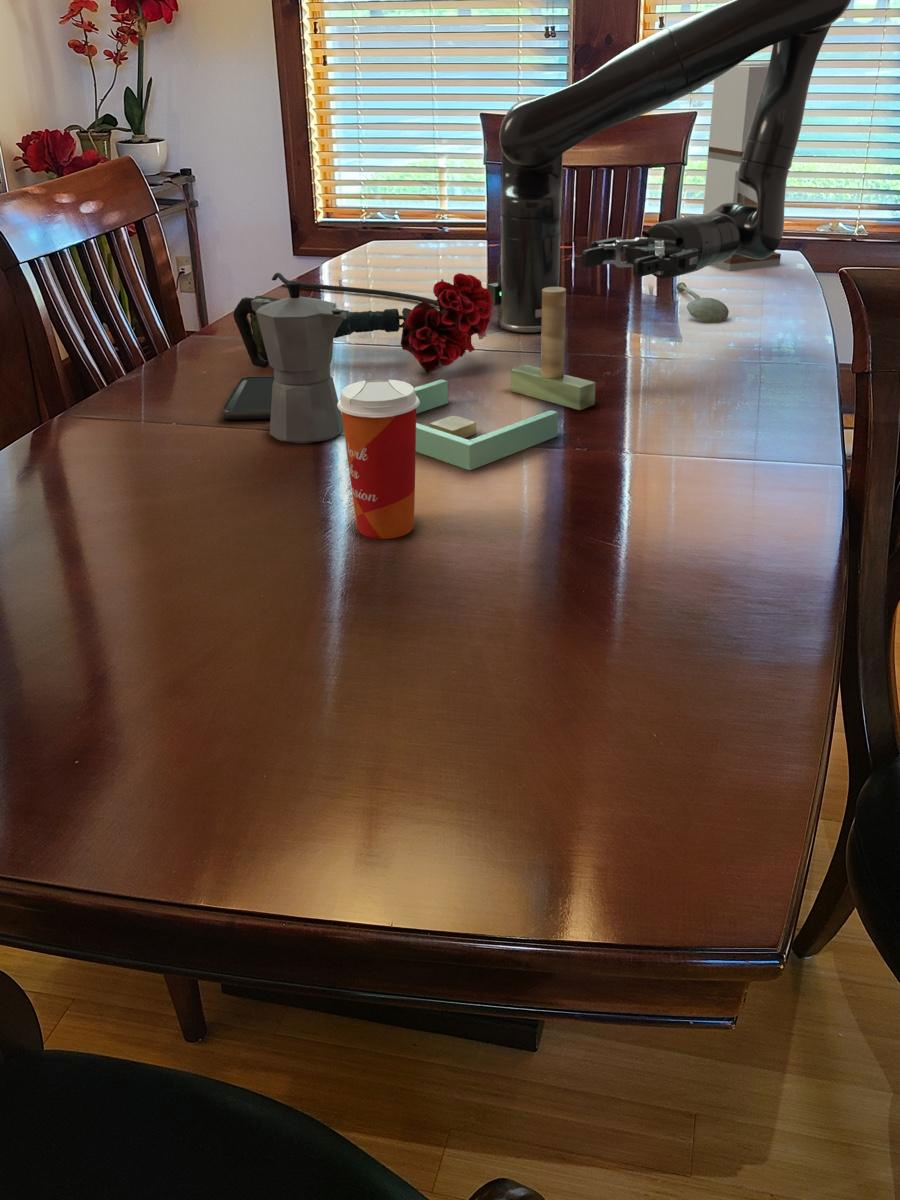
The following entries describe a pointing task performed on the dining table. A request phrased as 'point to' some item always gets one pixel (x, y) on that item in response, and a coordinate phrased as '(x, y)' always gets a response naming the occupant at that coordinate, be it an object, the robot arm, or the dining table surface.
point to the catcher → (484, 446)
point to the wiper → (553, 361)
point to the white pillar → (733, 147)
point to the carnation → (423, 322)
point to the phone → (250, 399)
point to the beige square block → (455, 426)
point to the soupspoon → (704, 306)
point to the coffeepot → (296, 362)
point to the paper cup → (381, 454)
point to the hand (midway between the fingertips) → (609, 264)
